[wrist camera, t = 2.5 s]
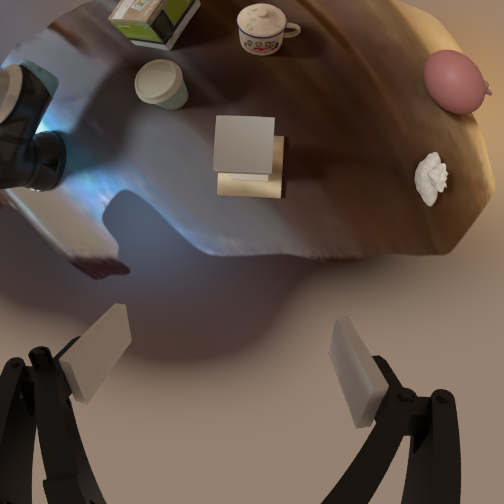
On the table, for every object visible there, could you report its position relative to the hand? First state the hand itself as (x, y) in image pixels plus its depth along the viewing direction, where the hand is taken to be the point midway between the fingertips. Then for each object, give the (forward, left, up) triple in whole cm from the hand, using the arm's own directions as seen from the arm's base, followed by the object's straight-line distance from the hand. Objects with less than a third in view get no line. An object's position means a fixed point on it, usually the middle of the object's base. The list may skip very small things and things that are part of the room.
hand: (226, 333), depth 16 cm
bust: (+10, +39, -39) cm, 56 cm away
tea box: (-50, +10, -39) cm, 64 cm away
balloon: (-5, +59, -39) cm, 71 cm away
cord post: (-10, +7, -39) cm, 41 cm away
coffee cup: (-31, +2, -39) cm, 50 cm away
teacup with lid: (-32, +25, -39) cm, 56 cm away
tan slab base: (-10, +7, -39) cm, 41 cm away
